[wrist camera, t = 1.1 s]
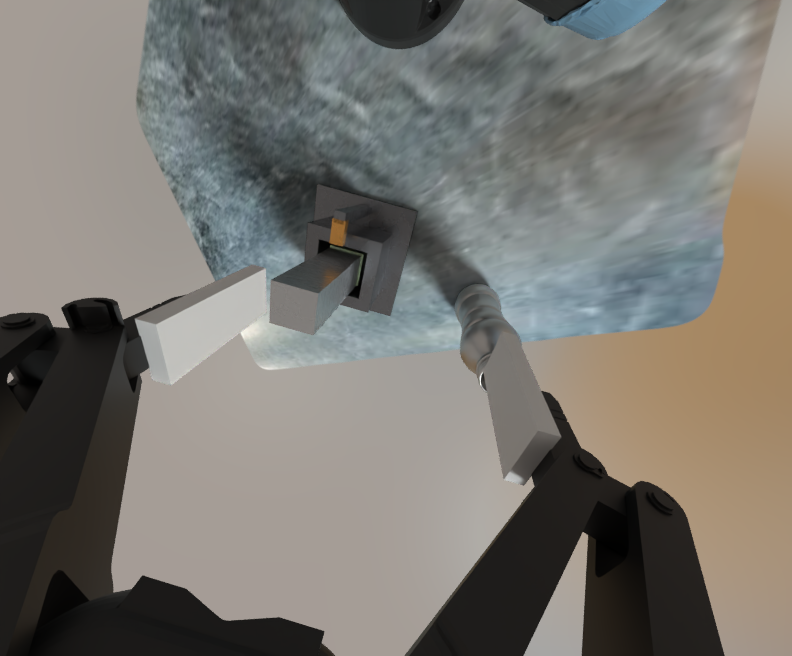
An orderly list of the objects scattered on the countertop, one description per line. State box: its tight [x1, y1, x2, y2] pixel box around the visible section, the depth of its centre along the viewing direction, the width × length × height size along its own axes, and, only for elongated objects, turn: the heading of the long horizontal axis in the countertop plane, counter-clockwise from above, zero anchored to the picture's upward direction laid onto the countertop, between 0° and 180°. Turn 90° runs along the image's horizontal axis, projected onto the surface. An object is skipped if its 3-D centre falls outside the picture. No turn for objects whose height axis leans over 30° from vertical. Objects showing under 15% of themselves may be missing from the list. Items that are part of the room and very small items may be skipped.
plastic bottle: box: [455, 284, 522, 393], centre depth 34 cm, size 6×7×20 cm
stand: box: [304, 184, 418, 316], centre depth 37 cm, size 16×14×12 cm
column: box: [270, 244, 368, 335], centre depth 33 cm, size 5×4×20 cm
